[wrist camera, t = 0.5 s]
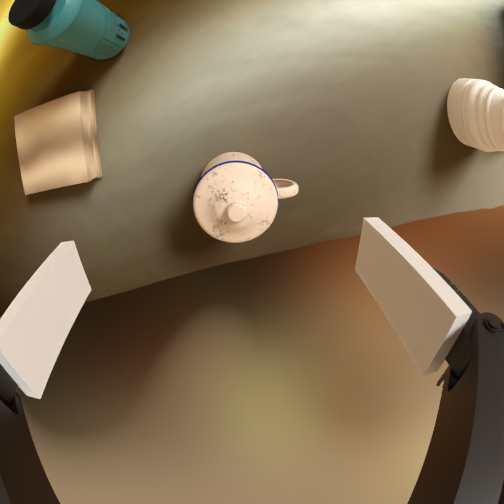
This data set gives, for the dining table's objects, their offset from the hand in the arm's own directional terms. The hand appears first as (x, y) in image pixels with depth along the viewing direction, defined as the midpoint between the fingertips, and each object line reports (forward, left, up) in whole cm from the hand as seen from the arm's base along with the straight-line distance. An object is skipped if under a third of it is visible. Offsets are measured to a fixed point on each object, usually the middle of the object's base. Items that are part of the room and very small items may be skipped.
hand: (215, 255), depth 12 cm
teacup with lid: (+4, +3, -26) cm, 27 cm away
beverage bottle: (-18, -14, -26) cm, 35 cm away
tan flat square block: (-5, -23, -26) cm, 35 cm away
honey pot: (-11, +43, -26) cm, 52 cm away
